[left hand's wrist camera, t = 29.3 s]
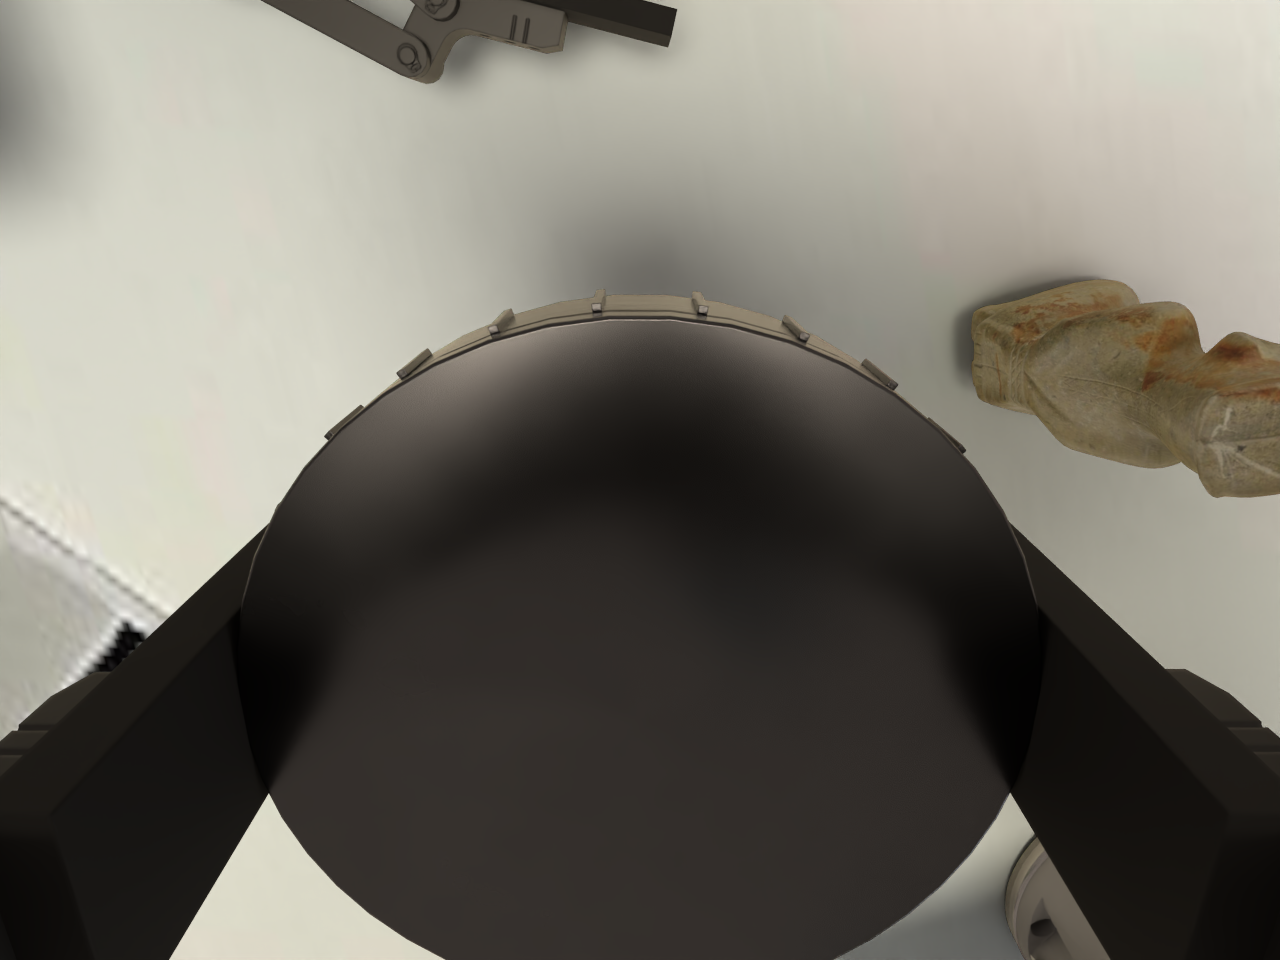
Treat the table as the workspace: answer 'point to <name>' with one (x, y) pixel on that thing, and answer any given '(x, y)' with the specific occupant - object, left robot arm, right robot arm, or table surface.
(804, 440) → the lid
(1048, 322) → the sculpture
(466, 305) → the table surface
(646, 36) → the right robot arm
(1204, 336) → the table surface
